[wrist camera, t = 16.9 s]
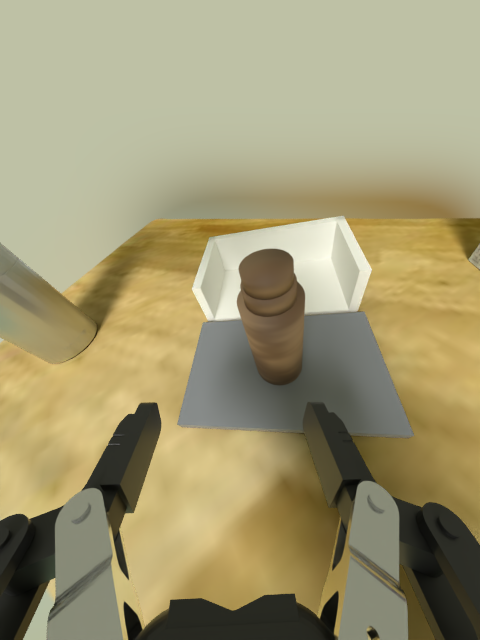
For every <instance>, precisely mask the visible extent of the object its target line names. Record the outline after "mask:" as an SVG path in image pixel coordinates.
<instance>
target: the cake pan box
mask: <svg viewBox="0 0 480 640" xmlns="http://www.w3.org/2000/svg"><path fill="white" fill-rule="evenodd" d="M468 260H469V261H470V262H471V263H472V264H473V265H475V266H476V267H477V268H478V269H479V270H480V244H479V245H478V247H477V248H476V249H475V251H474V252H473V254H472V255H471V257H470V258H469V259H468Z"/></svg>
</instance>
